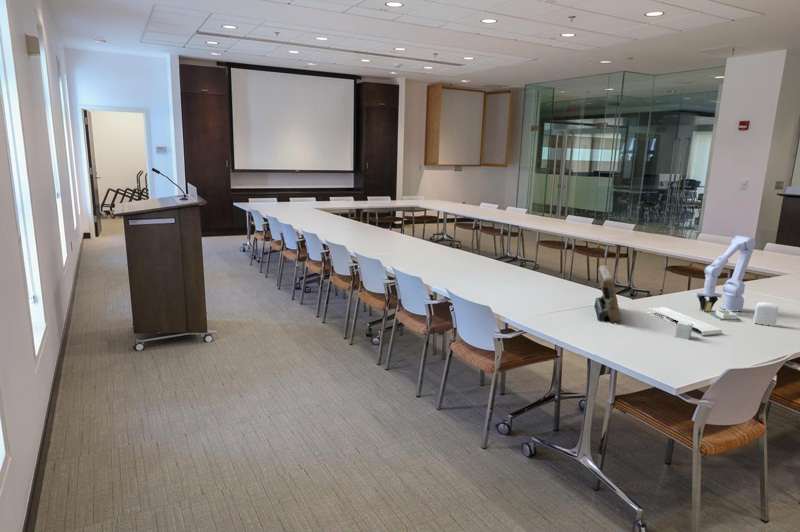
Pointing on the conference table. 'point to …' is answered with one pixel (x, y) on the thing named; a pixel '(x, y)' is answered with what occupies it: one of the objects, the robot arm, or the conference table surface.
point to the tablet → (607, 297)
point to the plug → (707, 306)
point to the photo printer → (766, 313)
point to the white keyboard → (677, 316)
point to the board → (724, 315)
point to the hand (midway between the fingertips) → (705, 308)
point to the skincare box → (684, 329)
